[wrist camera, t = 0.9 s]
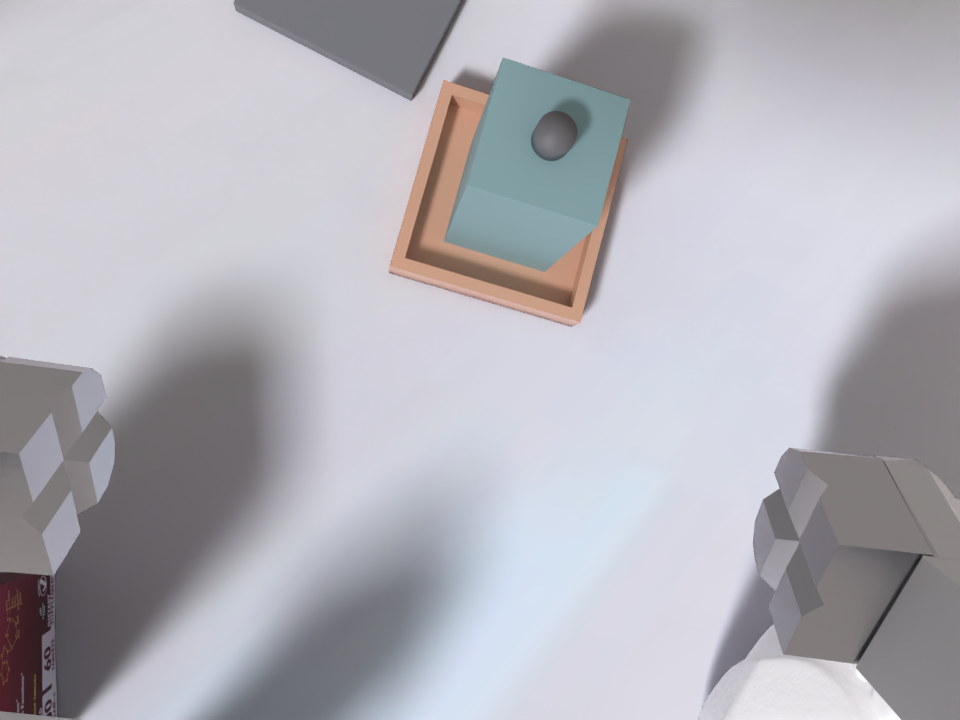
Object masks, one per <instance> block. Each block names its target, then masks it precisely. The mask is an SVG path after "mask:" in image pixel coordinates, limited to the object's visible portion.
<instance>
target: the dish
mask: <svg viewBox="0 0 960 720" xmlns="http://www.w3.org/2000/svg"><path fill="white" fill-rule="evenodd" d="M488 97H489V95H488V94H485V93H482V92H479V91H476V90H473V89H470V88H467V87H464V86H461V85H457V84H454V83H451V82H448V81H445V80H444V81H443V84H442V88H441V91H440V95H439V98H438V101H437V105H436V108H435V112H434V115H433V119H432V122H431V126H430V129H429V133H428V136H427V139H426V143H425V146H424V150H423V153H422V157H421V160H420V164H419V167H418V171H417V174H416V177H415V181H414V184H413V188H412V191H411V195H410V198H409V202H408V205H407V208H406V212H405V215H404V219H403V222H402V226H401V229H400V233H399V236H398V240H397V243H396V246H395V250H394V253H393V257H392V260H391V264H390V268H389V273H391V274H395V275H398V276H402V277H405V278H408V279H412V280H415V281H419V282H422V283H425V284H429V285H432V286H436V287H439V288H442V289H446V290H449V291H453V292H456V293H459V294H463V295H466V296H469V297H473V298H476V299H480V300H483V301H486V302H490V303H493V304H497V305H500V306H503V307H507V308H510V309H514V310H517V311H520V312H524V313H527V314H531V315H534V316H537V317H541V318H544V319H547V320H551V321H554V322H558V323H561V324H564V325H568V326H571V327H572V326H574V325H576V324H578V323H580V322H581V318H582V314H583V310H584V307H585V303H586V299H587V295H588V291H589V287H590V283H591V280H592V276H593V272H594V268H595V264H596V260H597V256H598V252H599V249H600V245H601V241H602V237H603V233H604V229H605V225H606V222H607V218H608V214H609V210H610V206H611V202H612V198H613V195H614V191H615V187H616V183H617V179H618V175H619V171H620V168H621V164H622V160H623V156H624V152H625V148H626V144H627V141H628V140H627V139H624V138H621V139H620V143H619V147H618V151H617V155H616V158H615V162H614V166H613V170H612V174H611V178H610V181H609V185H608V189H607V193H606V197H605V201H604V205H603V208H602V212H601V216H600V220H599V224H598V226H597V227H596V228H595V229H594V230H592V231H591V232H590V233H589V234H588V235H587V236H586V237H584V238H583V239H582V240H581V241H580V242H579V243H578V244H576V245H575V246H574V247H573V248H572V249H571V250H569V251H568V252H567V253H566V254H565V255H564V256H563V257H561V258H560V259H559V260H558V261H557V262H556V263H555V264H553V265H552V266H551V267H550V268H549V269H548V270H546V271H545V272H542V271H539V270H536V269H532V268H529V267H526V266H522V265H519V264H516V263H512V262H509V261H506V260H503V259H499V258H496V257H493V256H489V255H486V254H483V253H479V252H476V251H473V250H469V249H466V248H463V247H459V246H456V245H453V244H449V243H446V242H443V241H444V238H445V234H446V231H447V227H448V224H449V220H450V217H451V213H452V210H453V206H454V202H455V199H456V195H457V192H458V188H459V185H460V181H461V178H462V174H463V171H464V167H465V164H466V160H467V156H468V153H469V149H470V146H471V142H472V140H473V137H474V134H475V132H476V129H477V126H478V124H479V121H480V118H481V115H482V113H483V110H484V107H485V105H486V102H487V99H488Z"/></svg>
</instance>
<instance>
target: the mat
mask: <svg viewBox="0 0 960 720" xmlns="http://www.w3.org/2000/svg"><path fill="white" fill-rule="evenodd" d="M461 2H462V0H235V2H234V5H235V8H236V11H238V12H240V13H242V14H244V15H245V16H247V17H249V18H251V19H253V20H255V21H257V22H259V23H261V24H263V25H265V26H267V27H269V28H271V29H273V30H275V31H277V32H279V33H281V34H282V35H284V36H286V37H288V38H290V39H292V40H294V41H296V42H298V43H300V44H302V45H304V46H306V47H308V48H310V49H312V50H314V51H316V52H317V53H319V54H321V55H323V56H325V57H327V58H329V59H331V60H333V61H335V62H337V63H339V64H341V65H343V66H345V67H347V68H349V69H351V70H353V71H354V72H356V73H358V74H360V75H362V76H364V77H366V78H368V79H370V80H372V81H374V82H376V83H378V84H380V85H382V86H384V87H386V88H388V89H390V90H391V91H393V92H395V93H397V94H399V95H401V96H403V97H405V98H407V99H409V100H412V98H413V96H414V94H415V92H416V90H417V88H418V86H419V84H420V82H421V81H422V79H423V77H424V75H425V73H426V71H427V69H428V67H429V65H430V63H431V61H432V59H433V57H434V55H435V53H436V51H437V49H438V47H439V45H440V43H441V41H442V39H443V37H444V35H445V33H446V31H447V29H448V27H449V25H450V23H451V21H452V20H453V18H454V16H455V14H456V12H457V10H458V8H459V6H460V4H461Z"/></svg>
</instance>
